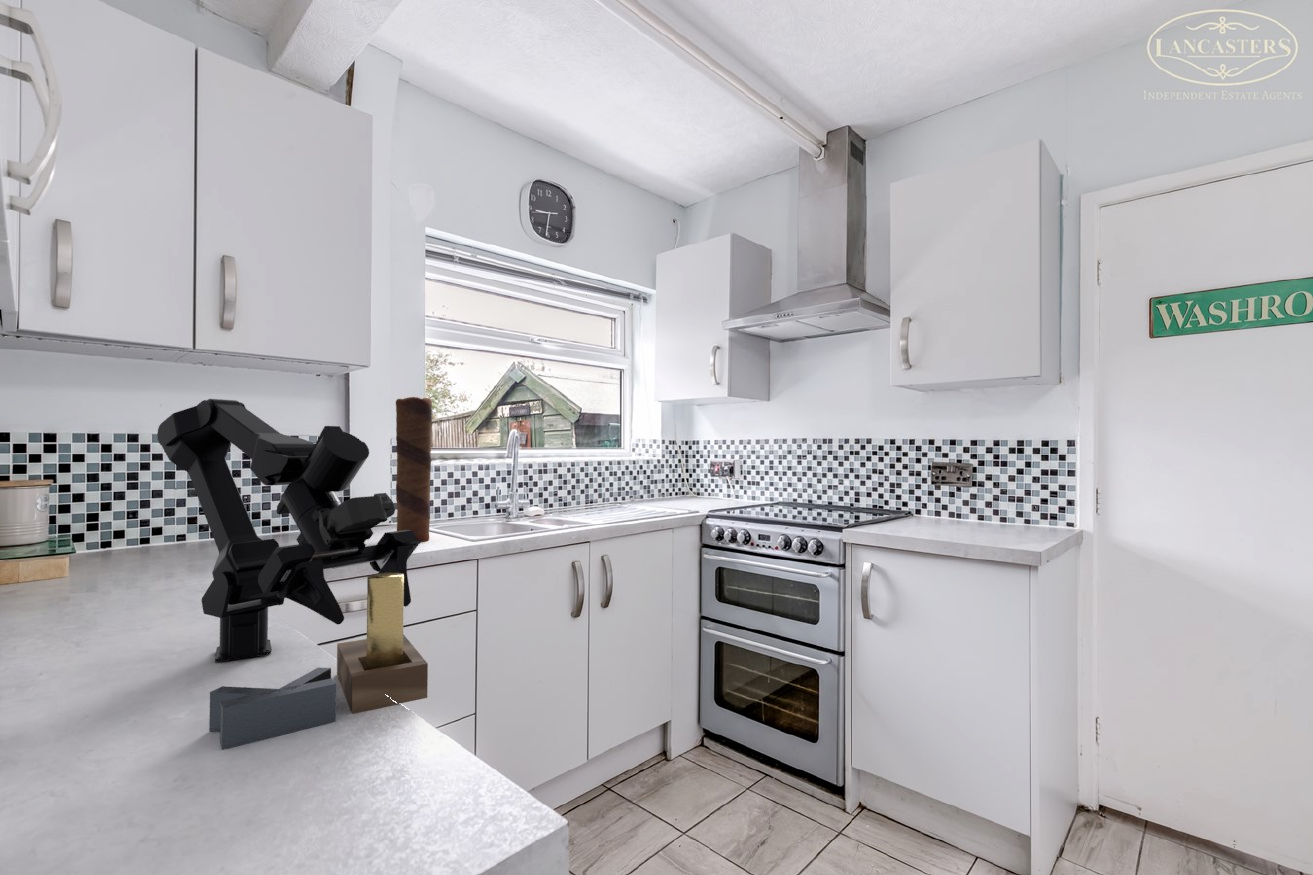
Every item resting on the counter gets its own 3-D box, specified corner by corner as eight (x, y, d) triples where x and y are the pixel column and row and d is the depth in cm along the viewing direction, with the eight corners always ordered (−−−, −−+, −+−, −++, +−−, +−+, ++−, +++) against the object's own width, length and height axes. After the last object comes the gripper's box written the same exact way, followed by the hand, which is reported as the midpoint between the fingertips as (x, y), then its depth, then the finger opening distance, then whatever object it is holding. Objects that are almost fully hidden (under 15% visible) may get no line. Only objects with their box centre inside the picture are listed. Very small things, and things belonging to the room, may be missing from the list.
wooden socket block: (336, 674, 80) (337, 643, 80) (402, 663, 85) (402, 633, 85) (352, 713, 69) (352, 676, 69) (427, 697, 73) (427, 663, 73)
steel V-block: (208, 727, 65) (209, 688, 65) (328, 699, 72) (328, 665, 72) (213, 751, 60) (214, 709, 60) (342, 719, 67) (342, 682, 67)
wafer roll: (416, 544, 189) (418, 396, 190) (388, 542, 192) (389, 396, 193) (438, 539, 199) (439, 398, 200) (410, 537, 202) (412, 399, 203)
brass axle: (363, 691, 75) (364, 574, 75) (398, 685, 77) (400, 571, 77) (368, 703, 71) (370, 580, 72) (405, 695, 74) (407, 577, 74)
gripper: (273, 475, 70) (334, 584, 64) (410, 471, 86) (469, 557, 81) (233, 541, 73) (288, 650, 68) (373, 524, 90) (426, 611, 84)
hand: (376, 612), depth 75 cm, fingers open, 9 cm apart
